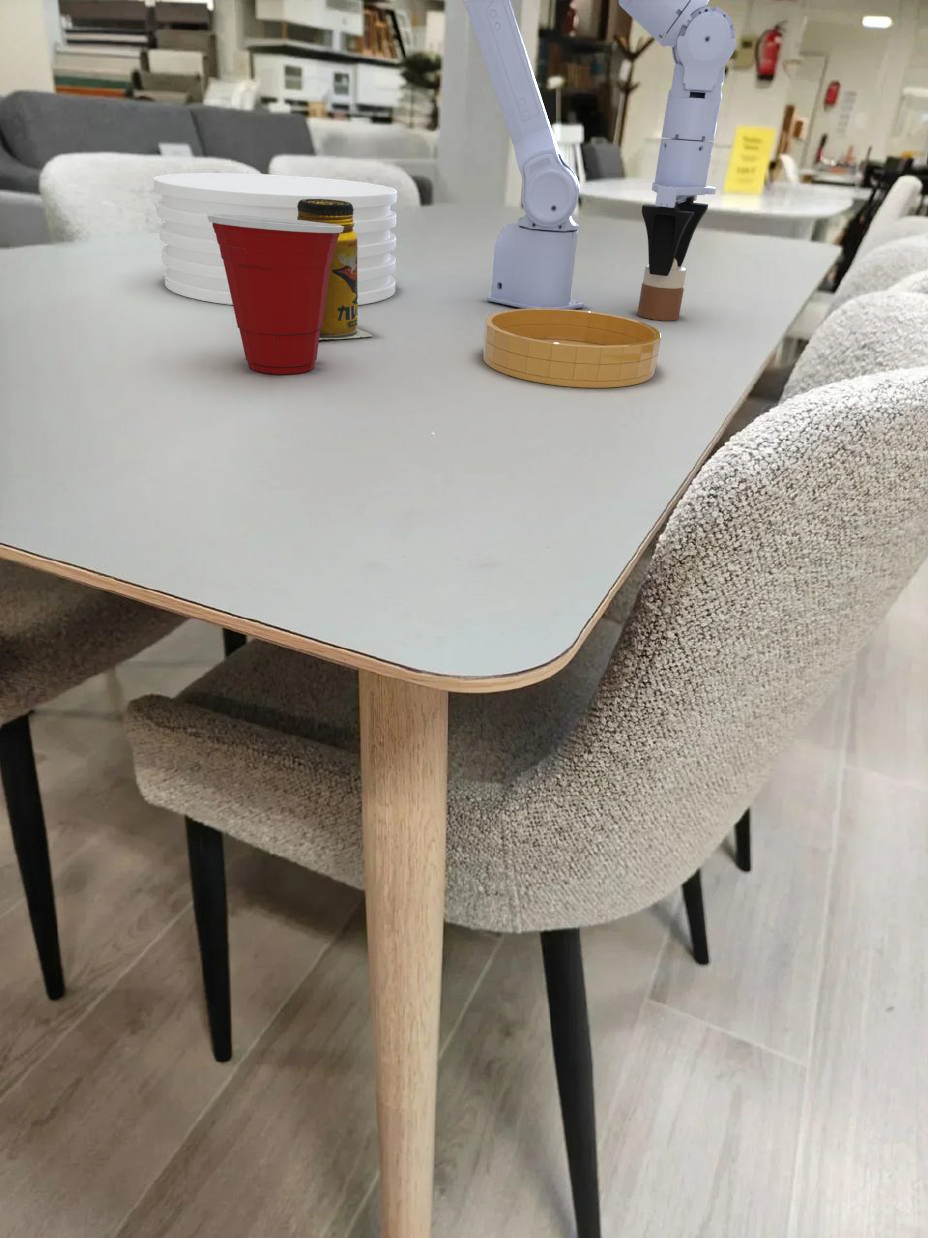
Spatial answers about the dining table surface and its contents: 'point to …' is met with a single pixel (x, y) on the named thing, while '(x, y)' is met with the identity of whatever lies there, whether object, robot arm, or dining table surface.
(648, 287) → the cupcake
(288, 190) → the plate stack
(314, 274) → the plastic cup
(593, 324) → the bowl
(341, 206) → the condiment
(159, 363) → the dining table surface
